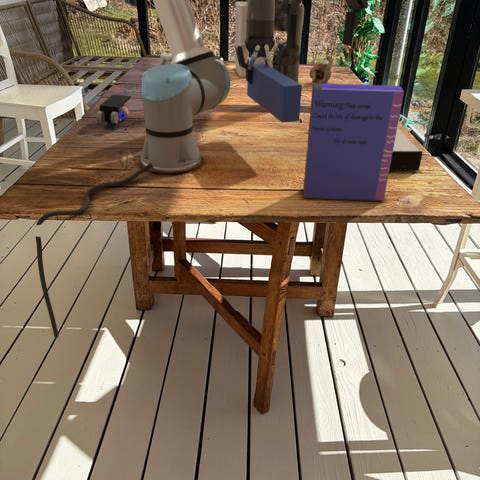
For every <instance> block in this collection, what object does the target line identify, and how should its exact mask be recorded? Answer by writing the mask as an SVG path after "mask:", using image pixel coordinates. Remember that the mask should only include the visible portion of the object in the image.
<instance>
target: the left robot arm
mask: <svg viewBox="0 0 480 480" xmlns="http://www.w3.org/2000/svg"><path fill="white" fill-rule="evenodd" d="M152 2H153V4H154V5H153V6H154V7H155V10H156V14H157V16H158V19H159V21H160V24H161V27H162V31H163V33H164V35H165V39H166V41H167V44H168V47H169V49H170V53H172V56H173V59H172V61H171V62H170V63H167V64H165V65H160V64H159V65H155V66H152V67H149V68H148V69H146V71H144V72H143V74H142V76H141V90H140V93H141V98H142V106H143V116H144V125H145V138H144V142H143V146H142V150H141V154H140V162H141V166H142V168H140V169H139V170H137V171H136V172H134V173H133V174H132V175H131V176H129V177H127V178H125V179H122V180H119V181H114V182H108V183H102V184H98V185H95V186H92V187H91V188H89V189H88V190H86V192H85V193H84V204H83V206H81V207H80V208H78V209H73V210H53V211H49V212H47V213H45V214H43V215H42V216H40V218H39V219H38V220H37V222H36V223H35V224H36V226H40V225H42V224H43V223H44V222H45V221H46V220H47V219H50V218H52V217H57V216H58V217H59V216H75V215H80V214H83V213H84V212H86V211H87V210H88V209H89V207H90V204H91V199H90V196H91V194H93V193H94V192H96V191H99V190H102V189H108V188H113V187H119V186H123V185H125V184H128V183H130V182H132V181H134V180H135V179H136V178H137V177H139V176H140V175H142V174H143V173H144V172H146V171H149V172H151V173H156V174H163V175H164V174H165V175H169V174H170V175H172V174H173V175H175V174H182V173H187V172H190V171H193V170H195V169H197V168H198V167H199V166H201V163H202V155H201V151H200V149H199V148H200V146H199V145H198V143H197V141H196V137H195V135H194V130H193V129H194V126H193V116H196V115H199V114H201V113H203V112H206V111H208V110H212V109H215V108H216V107H217V106H219V105H221V104H222V103H224V102H225V100H226V99H227V98H228V96H229V93H230V90H231V77H230V74H229V71H228V69H227V67H226V65H225V64H224V65H225V66H224V65H222V64H221V63H220V62H218V61H215V59H216V58H215V57H216V56H215V55H214V52H213V50H212V49H211V48H209V47H207V46H206V45H205V44H204V40H203V37H202V35H201V32H200V29H199V25H198V23H197V19H196V15H195V14H194V9H193V7H192V4H191V1H190V0H152ZM302 2H303V0H278V2H277V4H276V8H277V9H279V10H281V11H283V12H284V30H286V31H287V32H286V40H287V45H286V46H287V47H289V48H295V39H296V24H297V14H294V13H293V12H294V11H295V10H296V8H297V7H298V6H299V4H300V3H302ZM344 3H346V6H347V7H348V9H349V10H350V11H345V19H344V26H343V27H344V28H343V36H342V45H344V46H348V47H352V45H353V38H354V30H355V29H357V28H358V22H359V15H360V13H362V12H363V10H367V9H368V8H369V1H368V0H344ZM35 244H36V258H37V269H38V274H39V280H40V285H41V289H42V294H43V298H44V301H45V306H46V309H47V313H48V317H49V320H50V323H51V324H50V325H51V328H52V333H53V337H54V338H55V339H57V338H59V337H60V335H59V329H58V326H57V322H56V318H55V313H54V310H53V306H52V302H51V298H50V296H49V291H48V286H47V281H46V277H45V269H44V260H43V259H44V258H43V247H42V246H43V244H42V237H41V236H35Z"/></svg>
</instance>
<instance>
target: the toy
mask: <svg viewBox="0 0 480 480" xmlns="http://www.w3.org/2000/svg"><path fill="white" fill-rule="evenodd" d="M172 59H173V56H172V53H171V52H169V53H168V52H166V51H163V52H161V54H160V55H159V65H165V64H169V63H168V62H170V63H171V61H172ZM215 61H218V62H220V63H221V64H222V65H224V66H225V67H226V64H225V63H224V62H223V60H220V59H216V58H215Z"/></svg>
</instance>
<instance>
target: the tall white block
mask: <svg viewBox="0 0 480 480" xmlns="http://www.w3.org/2000/svg"><path fill="white" fill-rule="evenodd" d="M246 12H247V1H235V46H236V45H241V44H244V43H245V40H246ZM248 53H249V52H248V50H247V49H246V48H245V51H244V53H243V55H244V59H245V63H246V61H247V56H248ZM271 54H272V50H271V51H270V55H271ZM271 56H272V55H271ZM234 60H235V62H234V63H235V65H234V66H235V68H234V69H235V71H236V73H237V75H238V77H239V78H246V69H245V68H242V67H241V66H239V62H238V58H237V54H236V53H235V59H234ZM254 63H264V64H265V61H264V59H263V57H258V58H256V60H255V62H254Z"/></svg>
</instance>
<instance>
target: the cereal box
mask: <svg viewBox="0 0 480 480" xmlns="http://www.w3.org/2000/svg"><path fill="white" fill-rule="evenodd" d="M404 94H405V91H404V90H403V88H402V87H401V86H399V85H380V84H379V85H377V84H376V85H375V84H344V83H343V84H341V83H326V84H315V83H312V87H311V99H310V109H309V120H308V121H309V122H308V131H307V145H306V153H305V154H306V155H305V165H304V177H303V188H302V189H303V190H302V191H303V197H304V199H317V200H343V201H344V200H345V201H346V200H347V201H366V202H367V201H368V202H369V201H370V202H384V201H385V195H386V190H387V184H388V178H389V174H390V171H389V169H390V164H391V158H392V153H393V148H394V142H395V137H396V132H397V128H399V127H398V126H399V120H400V115H401V111H402V104H403V100H404V99H403V98H404Z"/></svg>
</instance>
